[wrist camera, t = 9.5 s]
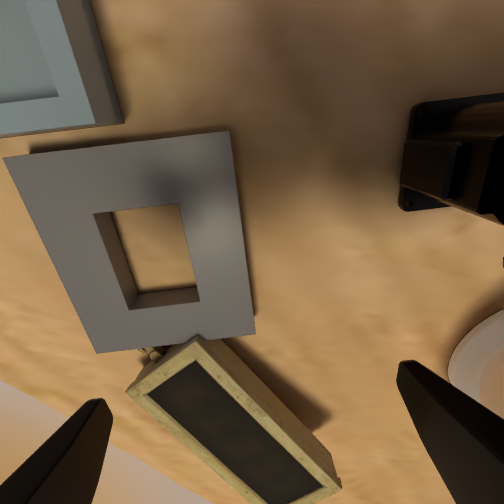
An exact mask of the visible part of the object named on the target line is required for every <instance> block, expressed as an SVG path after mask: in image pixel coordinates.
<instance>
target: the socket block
mask: <svg viewBox="0 0 504 504" xmlns="http://www.w3.org/2000/svg"><path fill="white" fill-rule="evenodd" d="M3 160H4V162H5V164H6V167H7V169H8V171H9V173H10V175H11V177H12V179H13V181H14V183H15V185H16V187H17V189H18V192H19V194H20V196H21V198H22V200H23V202H24V204H25V206H26V208H27V210H28V212H29V214H30V216H31V219H32V221H33V223H34V225H35V227H36V229H37V231H38V233H39V235H40V237H41V239H42V241H43V243H44V246H45V248H46V250H47V252H48V254H49V256H50V258H51V260H52V262H53V264H54V266H55V268H56V271H57V273H58V275H59V277H60V279H61V281H62V283H63V285H64V287H65V289H66V291H67V293H68V295H69V298H70V300H71V302H72V304H73V306H74V308H75V310H76V312H77V314H78V316H79V318H80V320H81V323H82V325H83V327H84V329H85V331H86V333H87V335H88V337H89V339H90V341H91V343H92V345H93V347H94V350H95V352H96V354H98V353H106V352H115V351H123V350H131V349H139V348H147V347H156V346H164V345H172V344H180V343H188V342H189V341H190V340H192V339H193V338H195V337H196V336H199V337H201V338H202V339H203V340H204V341H205V340H213V339H221V338H230V337H238V336H246V335H254V334H256V332H255V321H254V312H253V305H252V297H251V289H250V282H249V274H248V267H247V259H246V251H245V244H244V236H243V228H242V221H241V213H240V205H239V198H238V190H237V182H236V175H235V167H234V159H233V152H232V144H231V136H230V130H227V131H218V132H210V133H202V134H193V135H185V136H176V137H168V138H160V139H151V140H143V141H135V142H126V143H118V144H109V145H101V146H93V147H84V148H76V149H68V150H59V151H51V152H42V153H34V154H26V155H19V156H12V157H5V158H3ZM177 203H178V206H179V210H180V215H181V219H182V223H183V228H184V232H185V237H186V241H187V245H188V250H189V254H190V258H191V263H192V267H193V271H194V276H195V280H196V284H197V287H193V288H184V289H176V290H168V291H160V292H151V293H143V294H138V292H137V289H136V286H135V283H134V280H133V277H132V275H131V272H130V269H129V266H128V263H127V260H126V257H125V254H124V251H123V249H122V246H121V243H120V240H119V237H118V234H117V231H116V228H115V225H114V223H113V220H112V217H111V214H110V212H111V211H119V210H127V209H136V208H144V207H152V206H161V205H169V204H177Z"/></svg>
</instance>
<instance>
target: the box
mask: <svg viewBox="0 0 504 504" xmlns="http://www.w3.org/2000/svg"><path fill="white" fill-rule="evenodd" d="M138 350H139V351H141V352H143V353H146V352H148V353H149V354H150V359H151V360H152V361H151V362H149V363H148V364H147V365H145V366H144V367H143V369H142V370H141V372H140V373H139V375H138V377H137V378H136V380H135V381H134V382H133V383H132V384H130V386H129V387H128V388H127V390H126V391H125V393H126V394H127V395H128V396H129V397H130V398H131V399H132V400H134V401H135V402H136V403H137V404H138V405H139V406H140V407H142V408H143V409H144V410H145V411H146V412H148V413H149V414H150V415H151V416H152V417H153V418H154V419H156V420H157V421H158V422H159V423H160V424H161V425H162V426H164V427H165V428H166V429H167V430H168V431H169V432H171V433H172V434H173V435H174V436H175V437H176V438H177V439H178V440H180V441H181V442H182V443H183V444H184V445H185V446H186V447H187V448H189V449H190V450H191V451H192V452H193V453H194V454H196V455H197V456H198V457H199V458H200V459H201V460H202V461H203V462H205V463H206V464H207V465H208V466H209V467H210V468H211V469H212V470H213V471H215V472H216V473H217V474H218V475H219V476H220V477H221V478H222V479H223V480H225V481H226V482H227V483H228V484H229V485H230V486H231V487H232V488H234V489H235V490H236V491H237V492H238V493H239V494H240V495H241V496H243V497H244V498H245V499H246V500H247V501H248V502H250V503H251V504H314V503H316V502H318V501H320V500H322V499H324V498H326V497H329V496H331V495H333V494H335V493H337V492H338V491H340V490H341V489H342V485H341V480H340V478H338V477H337V474H336V470H335V467H334V464H333V460H332V456H331V453H330V452H329V451H328V450H327V449H326V448H325V447H324V446H323V445H322V443H321V442H320V441H319V440H318V439H317V438H316V437H315V436H314V435H313V434H312V433H311V432H310V431H309V430H308V429H307V427H305V426H304V425H303V424H302V423H301V422H300V421H299V419H298V418H297V417H296V416H295V415H294V414H293V413H292V412H291V411H290V410H289V409H288V408H287V407H286V406H285V405H284V404H283V403H282V402H281V401H280V400H279V399H278V398H277V397H276V396H275V395H274V394H273V392H272V391H271V390H270V389H269V388H268V387H267V386H266V385H265V384H264V383H263V382H262V381H261V380H260V379H259V378H258V377H257V376H256V375H255V374H254V373H253V371H252V370H251V369H250V368H249V367H248V366H247V365H246V364H245V363H244V362H243V361H242V360H241V359H240V358H239V357H238V356H237V355H236V354H235V353H234V352H233V351H232V350H231V349H230V348H229V347H228V346H227V345H226V344H225V343H224V342H223V341H222V340H221V339H213V340H205V341H204V340H203V339H202V338H201V337H199V336H196V337H195V338H193V339H192V340H190V341H189V342H188V343H180V344H173V345H172V346H171V347H169V348H168V349H167V350H164V349H163V348H162V347H161V346H156V347H147V348H139V349H138Z"/></svg>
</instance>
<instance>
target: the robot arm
mask: <svg viewBox="0 0 504 504" xmlns="http://www.w3.org/2000/svg"><path fill="white" fill-rule="evenodd" d="M421 108H422V109H423V113H422V115H421V116H419V110H420V109H421ZM400 184H401V190H400V197H399V207H400V209H402V210H404V211H407V212H409V211H417V210H426V209H434V208H442V207H450V206H453V207H455V208H458V209H461V210H463V211H466V212H469V213H471V214H474V215H477V216H479V217H482V218H485V219H487V220H490V221H493V222H495V223H498V224H501V225H503V226H504V93H498V94H489V95H481V96H472V97H464V98H456V99H447V100H439V101H431V102H422V103H418V104H416V105H415V106H414V107H413V108H412V110H411V113H410V120H409V128H408V135H407V141H406V143H405V144H404V152H403V160H402V168H401V176H400ZM408 201H410V203H409V205H408V206H406V203H407V202H408ZM503 267H504V257H503ZM396 382H397V386H398V389H399V391H400V394H401V396H402V398H403V400H404V403H405V405H406V407H407V409H408V412H409V414H410V416H411V418H412V421H413V423H414V425H415V427H416V430H417V432H418V434H419V436H420V438H421V441H422V443H423V445H424V446H425V448H426V450H427V452H428V454H429V456H430V457H431V459H432V461H433V463H434V465H435V466H436V468H437V470H438V472H439V474H440V475H441V477H442V479H443V481H444V483H445V484H446V486H447V488H448V490H449V492H450V493H451V495H452V497H453V499H454V501H455V502H456V504H504V419H503V418H501V417H500V416H498V415H497V414H495V413H494V412H492V411H491V410H489V409H488V408H486V407H485V406H483V405H482V404H480V403H479V402H477V401H476V400H474V399H473V398H471V397H470V396H468V395H467V394H465V393H464V392H462V391H461V390H459V389H458V388H456V387H455V386H453V385H452V384H450V383H449V382H447V381H446V380H444V379H443V378H441V377H440V376H438V375H437V374H435V373H434V372H432V371H431V370H429V369H428V368H426V367H425V366H423V365H422V364H420V363H419V362H417V361H415V360H406V361H401V362H400V363H399V367H398V373H397V379H396ZM112 424H113V415H112V413H111V411H110V409H109V407H108V405H107V403H106V401H105V400H104V399H103V398H97V399H91V400H88V401H87V402H86V403H84V404H83V405H82V406H81V407H80V408H79V409H78V410H77V411H76V412H75V413H74V414H73V415H72V416H71V417H70V418H69V419H68V420H67V421H66V422H65V423H64V424H63V425H62V426H61V427H60V428H59V429H58V430H57V431H56V432H55V433H54V434H53V435H52V436H51V437H50V438H49V439H47V440H46V441H45V443H43V445H41V446H40V447H39V448H38V449H37V450H36V451H35V452H34V454H32V455H31V456H30V457H29V458H28V459H27V460H26V461H25V462H24V463H23V464H22V465H21V466H20V467H19V468H18V469H17V470H16V471H15V472H14V473H13V474H12V475H11V476H10V477H8V478H7V479H6V480H5V481H4V482H3V484H2V485H0V504H91V503H92V500H93V497H94V494H95V491H96V488H97V485H98V481H99V478H100V474H101V470H102V466H103V461H104V457H105V453H106V449H107V445H108V441H109V436H110V432H111V428H112Z"/></svg>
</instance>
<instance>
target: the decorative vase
mask: <svg viewBox="0 0 504 504" xmlns="http://www.w3.org/2000/svg"><path fill="white" fill-rule="evenodd" d="M448 376H449V380H450V382H451V384H452V385H453V386H455V387H456V388H458V389H459V390H461V391H462V392H464V393H465V394H467V395H468V396H470V397H471V398H473V399H474V400H476V401H477V402H479V403H480V404H482V405H483V406H485V407H486V408H488V409H489V410H491V411H492V412H494V413H495V414H497V415H498V416H500V417H501V418H503V419H504V309H503V310H501V311H499V312H497V313H495V314H493V315H491V316H490V317H488V318H487V319H485V320H484V321H482V322H481V323H479V324H478V325H477V326H475V327H474V328H473V329H472V330H471V331H470V332H469V333H468V334H467V335H466V336H465V337H464V338H463V339H462V340H461V341H460V343H459V344H458V345H457V347H456V348H455V350H454V352H453V354H452V356H451V358H450V361H449V365H448Z"/></svg>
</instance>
